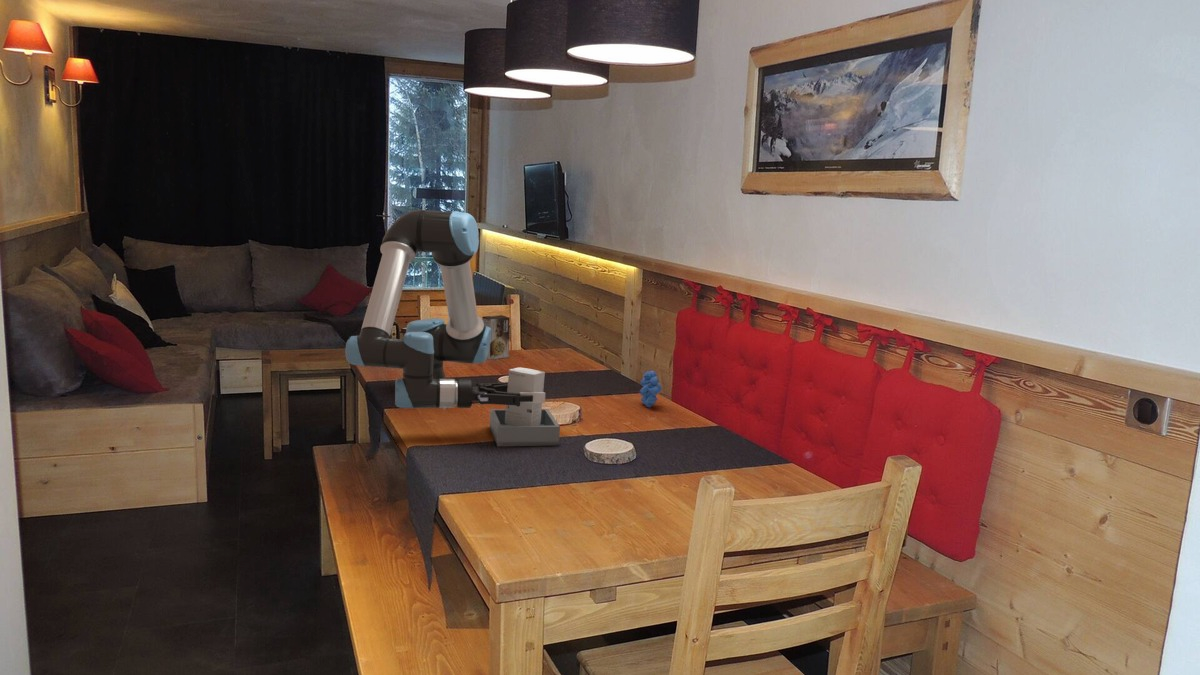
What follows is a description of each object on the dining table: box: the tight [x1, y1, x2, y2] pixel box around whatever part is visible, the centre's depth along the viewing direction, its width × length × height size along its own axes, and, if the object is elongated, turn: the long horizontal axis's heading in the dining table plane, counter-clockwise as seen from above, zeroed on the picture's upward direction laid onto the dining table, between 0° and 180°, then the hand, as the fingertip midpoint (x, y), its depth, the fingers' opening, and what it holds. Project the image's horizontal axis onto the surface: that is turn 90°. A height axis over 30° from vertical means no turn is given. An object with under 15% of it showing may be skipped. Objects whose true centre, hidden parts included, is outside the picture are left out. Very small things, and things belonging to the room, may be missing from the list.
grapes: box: [639, 370, 663, 408], centre depth 260 cm, size 12×7×12 cm, turn 18°
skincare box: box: [505, 367, 546, 426], centre depth 221 cm, size 8×6×15 cm
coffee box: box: [481, 314, 511, 360], centre depth 326 cm, size 9×6×16 cm
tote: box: [489, 408, 561, 447], centre depth 223 cm, size 18×16×5 cm
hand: (541, 393), depth 222 cm, fingers closed on skincare box, 9 cm apart
